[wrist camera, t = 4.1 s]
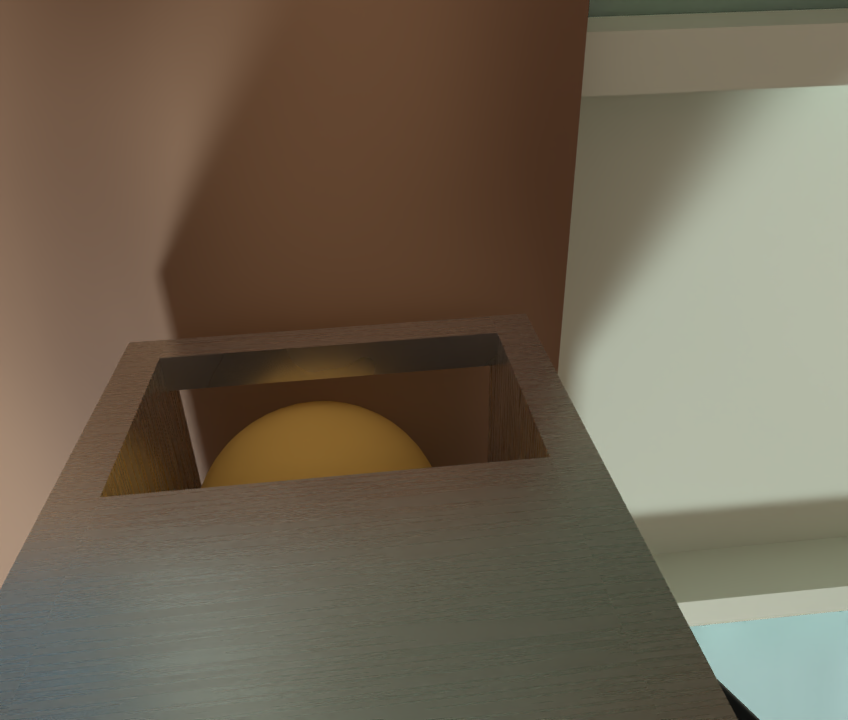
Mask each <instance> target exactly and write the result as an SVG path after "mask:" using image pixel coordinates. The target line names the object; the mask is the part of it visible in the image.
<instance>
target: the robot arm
mask: <svg viewBox="0 0 848 720" xmlns="http://www.w3.org/2000/svg"><path fill="white" fill-rule="evenodd" d="M717 681H718V683H719V684H720V686H721V688H722V690H723V692H724V694H725V696H726V698H727V700H728V702H729V704H730V705H731V707H732V709H733V711H734V713H735V715H736V717H737V719H738V720H759V719H758V718H757V717H756V716H755V715H754V714H753V713H752V712H751V711H750V710H749V709H748V708H747V707H746V706H745V705H744V704H743V703H742V702H741V701H740V700H738V699H737V698H736V697H735V696H734V695H733V694H732V693H731V692H730V691H729V690H728V689H727V688H726V687H725V686H724V685H723V684H722V683H721V682H720V681H719V680H718V679H717Z"/></svg>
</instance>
